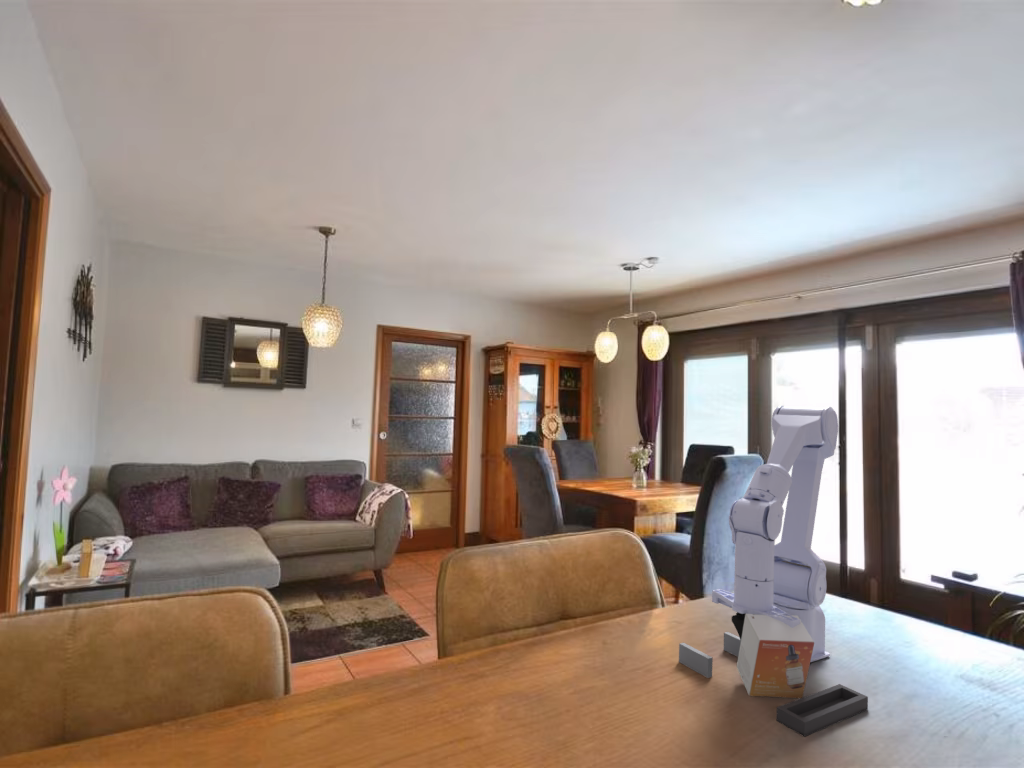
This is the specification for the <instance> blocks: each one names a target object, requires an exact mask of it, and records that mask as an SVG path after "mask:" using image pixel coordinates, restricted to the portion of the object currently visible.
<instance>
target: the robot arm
mask: <svg viewBox="0 0 1024 768" xmlns="http://www.w3.org/2000/svg"><path fill="white" fill-rule="evenodd" d="M838 422H839V420H838V415H837V412H836V410H835V409H833V407H831V406H826V407H824V406H823V407H820V406H818V407H817V406H816V407H815V406H814V407H813V406H785V405H778V406H777V407H776V408H775V409H774V411H773V412H772V416H771V429H772V433H773V437H774V440H773V443H772V446H771V448H770V452H769V455H768V457H767V462H766V463H765V464H760V465H759V466H757V467H756V469H755V471H754V473H753V476H752V478H751V480H750V482H749V484H748V487H747V488H746V491H745V493H744V495H743V497H741V498H740V499H736V500H735V501H734V502H733V503H732V504H731V508H730V510H729V515H728V524H729V529H730V531H731V542H732V544H734V551H735V552H734V555H735V556H734V582H733V585H734V586H733V587H734V590H733V592H731V591H727V590H724V589H722V588H718V589H713V590H712V592H711V602H712V603H714V604H721V605H723V606H726V607H728V608H730V609H732V611H734V612H735V615H731V622H732V624H733V626H734V628H735V630H736V631H737V635H738V637H740V640H741V638H742V632H743V625H744V620H745V614H758V615H767V616H769V617H772V618H774V619H777V620H779V621H781V622H783V623H785V624H787V625H789V626H790V627H791V628H793V627H795V626H797V625H798V624H800V620H801V622H802V623H803V625H804V626H805V628H806V630H807V631H808V633H809V635H810V636H811V638H812V640H813V641H814V647H813V652H812V656H811V661H810V663H812V662H816V661H819V660H822V659H826V658H828V657H830V656H831V653H830V652H828V651H826V616H825V612H824V611H823V609H822V607H821V606H820V605H822V604H823V603H824V600H826V599H825V598H826V595H827V594H826V593H827V585H828V584H827V566H826V564H825V562H824V560H822V558H820V556H818V555H817V554H816V553H815V552H814V550H812V543H813V536H814V530H815V529H814V528H815V521H816V514H817V507H818V501H819V495H820V494H819V493H820V487H821V480H822V473H823V472H822V471H823V468H824V464H825V463H824V462H825V460H826V459H829V458H831V457H833V456H834V455H835V450H836V448H837V442H838V441H837V440H838V435H839V423H838ZM790 471H791V474H790V473H789V472H790ZM786 498H787V500H786ZM785 500H786V506H785V507H786V508H785V510H784V507H783V505H784V502H785ZM784 512H785V514H784ZM783 517H784V519H783ZM782 525H783V526H782ZM780 533H781V538H780V542H778V543H775V541H776V539H777V538H779V535H780ZM807 566H808V567H807ZM791 615H797V616H798V617H799V618H800V619H798V618H795V617H793V616H791ZM778 616H782V617H783V618H781V617H778ZM787 616H791V617H792V618H793V619H792V618H790V617H787Z"/></svg>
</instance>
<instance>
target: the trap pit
mask: <svg viewBox="0 0 1024 768" xmlns="http://www.w3.org/2000/svg"><path fill="white" fill-rule="evenodd" d="M868 705H869V696H867V695H866V694H863V693H860V692H858V691H856V690H854V689H852V688H849V687H847V686H845V685H842V684H840V683H839V684H836V685H833V686H831V687H828V688H825V689H823V690H820V691H817V692H815V693H812V694H809V695H807V696H803V697H802V698H800V699H795V700H793V701H790V702H788V703H785V704H782V705H779V706H776V718H775V719H776V722H778V723H779V724H782V725H783V726H785V727H787V728H788V729H790V730H792V731H794V732H795V733H797V734H799V735H800V736H801V737H807V736H809V735H812V734H814V733H816V732H819V731H821V730H823V729H826V728H828V727H831V726H832V725H835V724H837V723H840V722H842V721H844V720H847V719H848V718H849V719H850V718H851V717H854V716H856V715H860V713H861V714H862V713H863V712H866V711H867V710H869V708H868V707H869V706H868Z"/></svg>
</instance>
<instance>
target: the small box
mask: <svg viewBox="0 0 1024 768" xmlns="http://www.w3.org/2000/svg"><path fill="white" fill-rule="evenodd" d="M791 616H793V617H795V618H798V619H800V618H799V617H798V616H797V615H791ZM791 616H787V617H790V618H792V617H791ZM778 617H781V618H783V617H782V616H778ZM792 619H793V618H792ZM813 647H814V641H813V640H812V638H811V636H810V635H809V633H808V631H807V630H806V628H805V626H804V625H803V623H802V622H801V620H800V624H798V625H797V626H795V627H793V628H791V627H790V626H789V625H787V624H785V623H783V622H781V621H779V620H777V619H774V618H772V617H769V616H767V615H758V614H745V620H744V625H743V632H742V638H741V644H740V650H739V656H738V657H737V663H736V668H737V671H738V673H739V676H740V678H741V680H742V682H743V683H742V684H743V685H744V687H745V689H746V691H747V695H748V696H749V697H770V698H771V697H772V698H776V697H777V698H788V699H796V700H798V699H800V698H803V697H804V692H805V688H806V683H807V680H808V679H807V678H808V674H809V670H810V666H811V665H810V664H811V662H810V661H811V656H812V652H813Z"/></svg>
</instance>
